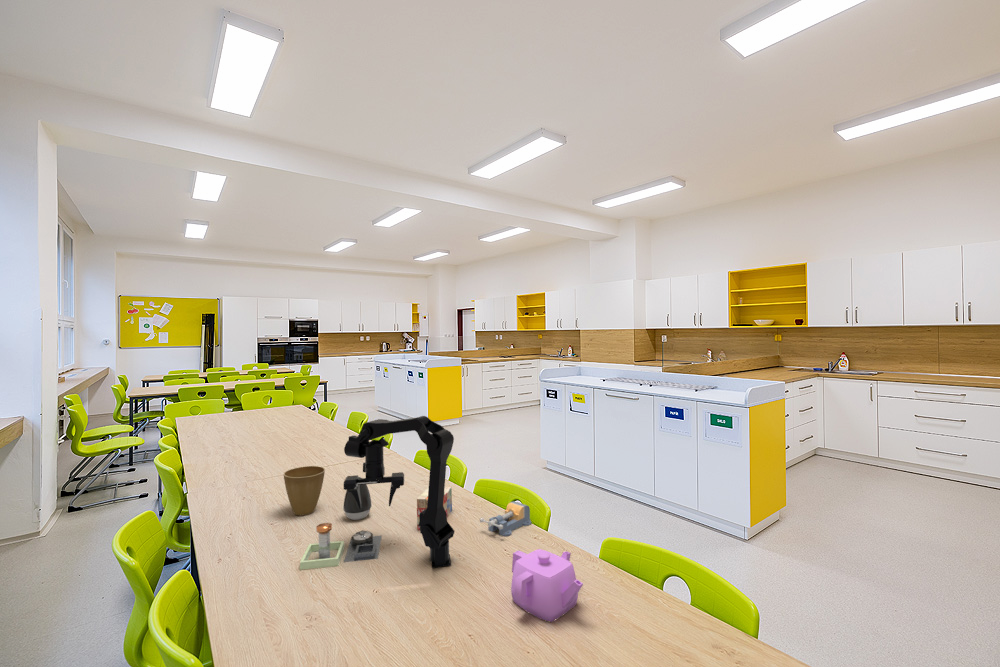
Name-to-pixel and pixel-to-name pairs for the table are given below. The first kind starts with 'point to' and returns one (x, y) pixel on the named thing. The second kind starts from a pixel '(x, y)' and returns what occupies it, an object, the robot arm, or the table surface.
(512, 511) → the vise
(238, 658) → the table surface
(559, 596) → the teakettle
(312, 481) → the plant pot
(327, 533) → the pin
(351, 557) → the tensioner
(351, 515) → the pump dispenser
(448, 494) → the stack of blocks
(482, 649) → the table surface
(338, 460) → the table surface
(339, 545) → the tray
